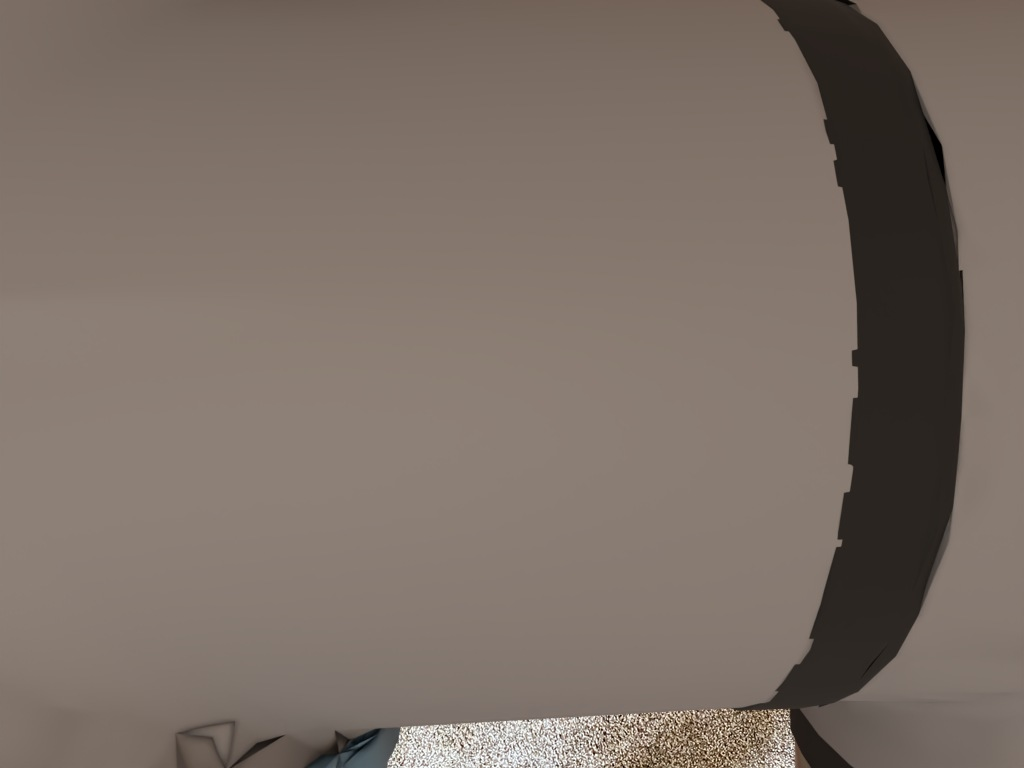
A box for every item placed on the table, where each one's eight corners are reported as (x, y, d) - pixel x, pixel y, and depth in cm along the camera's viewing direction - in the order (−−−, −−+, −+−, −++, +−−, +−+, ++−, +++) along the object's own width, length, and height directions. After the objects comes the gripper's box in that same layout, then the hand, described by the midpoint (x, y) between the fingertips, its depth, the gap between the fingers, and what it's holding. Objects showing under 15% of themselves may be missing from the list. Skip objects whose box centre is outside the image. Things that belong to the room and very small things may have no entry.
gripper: (-170, 112, 17) (197, 295, 39) (693, 246, 18) (581, 353, 40) (-105, -145, 18) (220, 176, 40) (725, -9, 19) (597, 234, 40)
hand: (400, 264), depth 40 cm, fingers closed on decorated donut, 11 cm apart
